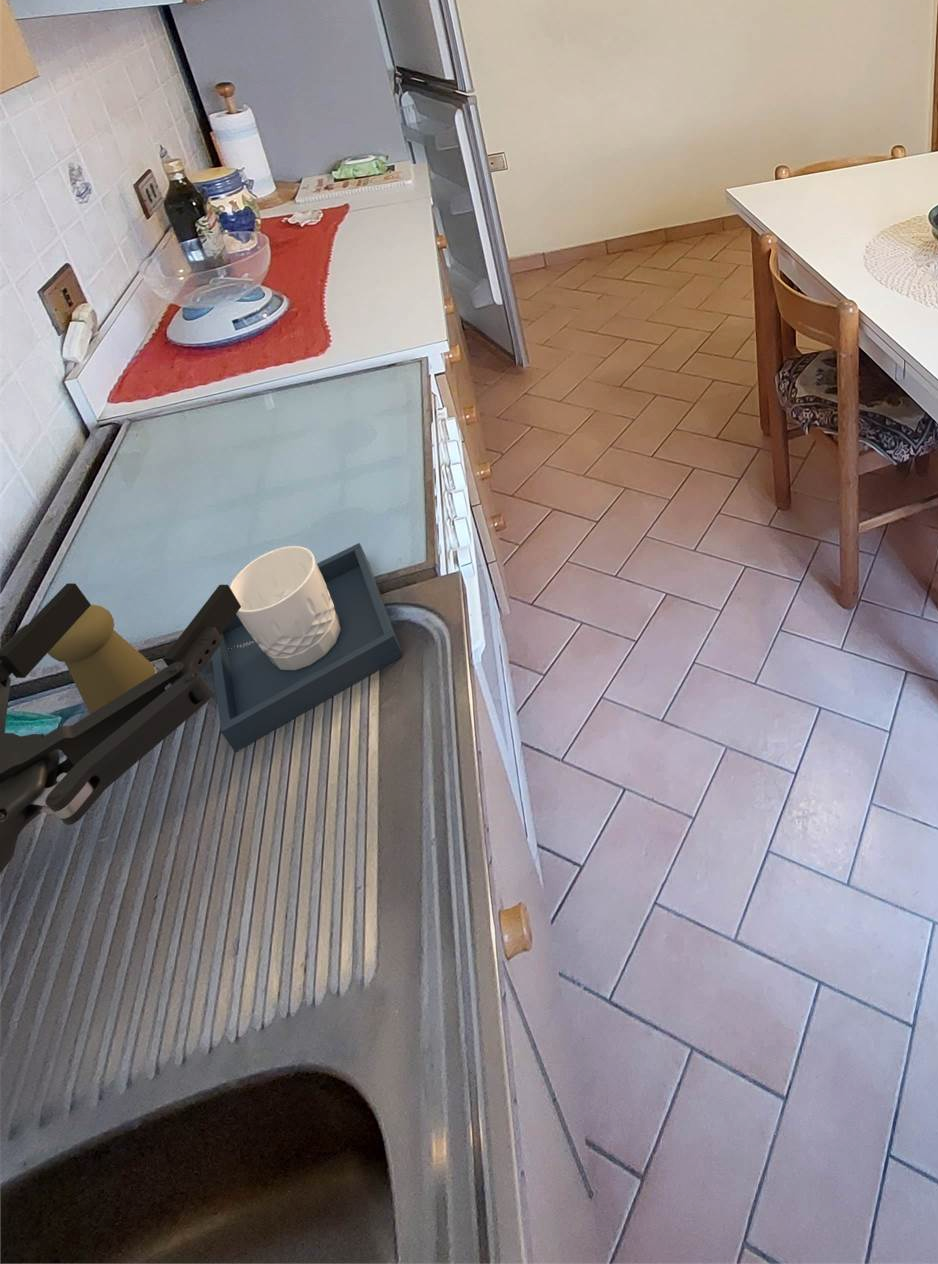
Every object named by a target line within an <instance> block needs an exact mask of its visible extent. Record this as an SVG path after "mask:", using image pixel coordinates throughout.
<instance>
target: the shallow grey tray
mask: <svg viewBox="0 0 938 1264" xmlns="http://www.w3.org/2000/svg"><path fill="white" fill-rule="evenodd" d="M317 565H318V567H319V569H320V572H321V574H322V576H323V579H324V581H325V583H326V586H327V589H328V591H329V594H330V597H331V599H332V601H333V604H334V609H335V611H336V614H337V616H338V618H339V622H340V628H341V631H340V634H339V636H338V639H337V641H336V643H335V645H334V646H333V647H332V648H331V649H330V650H329V651H328V653H327V654H326V655H325V656H323V657H322V658H320V659H319V660H318V661H316V662H315V663H313V664H312V665H310V666H307V667H304V668H301V669H298V670H294V671H293V670H280V669H279V668H278V667H277V666H275V665H274V664H273V663H272V662H271V660H270V659H269V657H268V656H267V655H266V653H265V652H263V650H262V649H261V648H260V647H259V645H258V644H257V642H256V644H255V640H254V639H253V637H252V636H251V635H250V634H249V632H248V631H247V629H246V628H245V627H244V625H243V624H242V622H241V621H240V619H239V618H238V616H237V615H235V616H234V617H233V619H232V620H231V622H230V623H229V624H228V626H227V627H226V629H225V630H224V631H223V633H222V634H221V637H222V641H221V645H220V646H219V647H218V649H217V650H216V651H215V653H214V654H213V656H212V657H211V661H212V671H213V677H214V686H215V695H216V704H217V711H218V720H219V727H220V733H221V734H222V735H223V737H224V738H225V740H226V741H227V743H228V744H229V746H230V747H231V748H232V750H233V752H234V753H236V752H238V751H240V750H242V749H244V748H246V747H247V746H248V744H249V745H251V744H253V743H254V742H256V741H257V740H259V739H261V738H263V737H264V736H266V735H269V734H270V733H272V732H273V731H275V730H277V729H279V728H280V727H282V726H284V725H285V724H288V723H289V722H290V721H293V720H294V719H296V718H298V717H300V716H301V715H303V714H305V713H307V712H308V711H310V710H311V709H312V710H313V708H315V707H317V706H318V705H320V704H322V703H324V702H325V701H328V700H329V699H331V698H332V697H335V696H336V695H338V694H340V693H342V692H343V691H345V690H347V689H349V688H350V687H353V685H355V684H357V683H359V682H361V681H362V680H364V679H366V678H367V677H370V676H371V675H373V674H374V673H376V672H378V671H380V670H381V669H384V668H385V667H387V666H389V665H390V664H392V663H394V662H395V661H397V660H399V659H401V658H402V657H404V653H403V650H402V647H401V645H400V643H399V640H398V637H397V634H396V631H395V629H394V626H393V624H392V621H391V618H390V616H389V613H388V610H387V608H385V607H386V605H385V603H384V602H385V601H384V599H383V597H382V595H381V594H382V593H381V591H380V588H379V585H378V583H377V581H376V579H375V575H374V572H373V570H372V567H371V564H370V562H369V559H368V557H367V555H366V553H365V551H364V549H363V547H362V545H361V543H360V542H358V543H356V544H354V545H352V546H350V547H348V548H346V549H343V550H342V551H340V552H337V553H336V554H334V555H332V556H329V557H327V558H325V559H324V560H322V561H320V562H318V563H317ZM249 641H251V642H252V641H254V644H253V645H252V643H251V645H250V646H249V645H248V646H247V648H246V646H245V648H243V647H241V648H240V647H239V646H240V644H241V645H242V646H243V643H246V642H248V643H249ZM237 645H239V646H238V648H237ZM234 646H235V647H234ZM228 648H229V649H228ZM231 648H232V649H231ZM241 748H242V749H241ZM239 749H240V750H239ZM237 750H238V751H237Z"/></svg>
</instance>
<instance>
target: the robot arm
mask: <svg viewBox="0 0 938 1264" xmlns="http://www.w3.org/2000/svg"><path fill="white" fill-rule="evenodd" d="M91 605H92V603H90V601H89V599H87V597H86V596H85V594H84V593H83V592H82V590H81V589H80V588H79V586H78V585H77V584H76V582H74V583H66V584H65V585H64V586H63V587H62V588H61V589H60V590H59V591H58V592H57V593H56V594H55V595H54V596H53V597H52V598H51V599H50V601H48V602H47V603H46V604H45V606H44V607H42V609H41V610H40V611H38V613H37V614H36V615H35V616H34V617H33V618H31V620H30V621H29V622H28V623H27V624H24V625H23V626H22V627H21V628H19V629H17V631H16V632H15V633H14V634H13V635H12V636H11V637H10V638H9V639H8V640H7V641H6V642H5V643H4V644H3V645H2V646H1V647H0V874H1V873H2V872H3V871H4V870H5V868H6V867H7V865H8V864H9V863H10V862H11V861H12V858H13V857H14V854H15V851H16V850H15V849H16V845H17V842H18V839H19V836H20V834H21V832H22V831H23V830H24V828H25V827H27V825H28V824H29V823H30V822H32V820H34V819H35V818H36V817H38V816H39V815H40V814H41V813H43V814H48V815H49V814H50V815H54V816H57V817H58V819H60V820H61V821H62V823H64V824H65V825H66V826H72V825H73V824H76V823H77V822H78V821H80V820H81V819H82V818H83V817H84V816H85V815H86V813H87V812H88V811H89V810H90V809H91V807H92V806H93V805H94V804H95V803H96V801H97V800H98V798H100V796H102V794H103V793H104V792H105V790H106V789H107V788H109V787H110V786H111V785H113V783H114V782H116V781H117V780H118V779H120V777H121V776H123V775H124V774H126V772H127V771H128V770H130V769H131V768H132V767H133V766H134V765H135V764H137V763H138V762H139V761H140V760H141V759H143V758H144V757H145V756H146V755H147V754H149V753H150V752H151V751H152V750H153V749H154V748H156V747H157V746H158V745H159V744H160V743H161V742H162V741H164V740H165V739H166V738H167V737H169V735H171V734H172V733H173V732H174V731H175V730H176V729H178V728H179V727H180V726H181V725H183V724H184V723H185V722H186V721H187V720H188V719H189V718H190V717H193V715H194V714H195V713H196V712H197V711H199V710H200V709H201V708H202V707H203V706H205V705H206V704H207V703H208V702H210V700H211V699H212V697H213V694H214V692H213V691H212V689H211V687H210V686H209V685H208V682H207V681H206V680H205V678H204V677H203V675H202V674H201V673H202V672H203V670H204V668H205V667H206V666H207V664H208V663H209V662H210V660H212V656H213V654H214V653H215V651H216V650H217V649H218V647H219V646H220V645H221V641H222V637H221V634H222V633H223V631H224V630H225V629H226V627H227V626H228V624H229V623H230V622H231V620H232V619H233V617H234V616H235V615H236V613H237V612H238V610H239V609H240V608H241V605H240V604H239V602H238V600H237V599H236V597H235V595H234V594H233V592H232V590H231V589H230V584H219V585H218V586H217V587H216V588H215V590H213V592H212V594H211V595H210V596H209V598H208V599H207V600H206V601H205V603H204V604H203V606H202V607H201V608H200V609H199V611H198V612H197V613H196V615H195V616H194V617H193V618H192V620H191V621H190V622H189V624H188V625H187V626H186V628H185V629H184V630H183V631H182V633H181V634H180V636H179V637H178V638H177V639H176V641H175V642H174V643H173V644H172V645H171V647H170V648H169V650H168V651H167V652H166V653H165V655H164V656H163V657H162V660H163V662H164V663H165V664H166V667H164V668H162V669H161V670H158V672H157V673H156V674H154V675H153V676H151V677H149V678H148V679H146V680H145V681H143V682H141V683H140V684H138V685H136V686H135V687H133V688H132V689H130V690H128V691H127V692H125V693H124V694H122V695H120V696H119V697H117V698H115V699H114V700H112V701H111V702H109V703H107V704H106V705H104V706H103V707H101V708H99V709H98V710H96V711H94V712H93V713H91V714H90V713H89V714H88V715H86V716H85V717H83V718H82V719H80V720H78V721H76V722H75V723H74V724H71V725H61V726H58V727H56V728H54V729H53V730H51V731H50V732H48V733H46V734H44V733H31V734H26V735H18V734H16V733H14V732H6V723H7V715H8V706H9V698H10V689H11V681H12V679H11V678H10V676H11V675H13V676H14V677H15V678H17V679H26V678H27V676H28V675H29V674H30V673H31V672H32V671H33V670H34V668H36V666H37V665H38V664H39V663H40V662H41V661H42V660H43V659H44V658H45V656H47V655H48V652H49V651H50V650H51V649H52V648H53V646H54V645H55V644H56V643H57V642H58V641H59V640H60V639H61V638H62V637H63V635H64V634H65V633H66V632H67V631H68V630H69V629H70V628H71V627H72V626H73V624H74V623H75V622H76V621H77V620H78V619H79V618H80V617H81V616H82V615H83V613H84V612H85V611H86V610H87V609H88V608H89V607H90V606H91ZM169 684H170V686H168V685H169ZM167 686H168V688H167V689H166V687H167ZM60 752H61V753H62V754H63V755H64V756H65V757H66V758H67V759H65V760H64V761H61V762H60V757H61V756H60Z"/></svg>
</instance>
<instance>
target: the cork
mask: <svg viewBox="0 0 938 1264" xmlns="http://www.w3.org/2000/svg"><path fill="white" fill-rule="evenodd" d="M114 628H115V621H114V618H113V615H112V614H111V612H110V610H108V609H107V608H105V607H103V606H102V605H97V604H91V606H90V607H89V608H88V609H87V610H86V611H85V612H84V613H83V615H82V616H81V617H80V618H79V619H78V620H77V621H76V622H75V623H74V624H73V626H72V627H71V628H70V629H69V630H68V631H67V632H66V633H65V634H64V635H63V637H62V638H61V639H60V640H59V641H58V642H57V643H56V644H55V645H54V646H53V648H52V649H51V650H50V651H49V652H48V653H47V655H48V656H50V658H52V659H53V660H56V661H58V662H59V663H65V665H66V667H67V670H68V672H69V674H70V676H71V679H72V680H73V682H74V685H75V686H76V689H77V691H78V692H79V695H80V697H81V699H82V701H83V703H84V705H85V707H86V709H87V711H88V714H89V715H90V714H91V713H93V712H94V711H96V710H98V709H99V708H101V707H103V706H104V705H106V704H107V703H109V702H111V701H112V700H114V699H115V698H117V697H119V696H120V695H122V694H124V693H125V692H127V691H128V690H130V689H132V688H133V687H135V686H136V685H138V684H140V683H141V682H143V681H145V680H146V679H148V678H149V677H151V676H153V675H154V674H155V669H154V666H155V665H154V664H153V663H152V662H151V661H150V660H148V659H147V658H146V657H145V656H144V655H143V654H142V653H140V651H138V650H137V649H136V648H135V647H134V646H133V645H132V644H131V643H129V641H127V639H125V638H124V637H122V635H120V634H119V633H118V632H117V631H116V630H115V629H114ZM153 665H154V666H153Z"/></svg>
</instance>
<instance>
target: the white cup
mask: <svg viewBox="0 0 938 1264" xmlns="http://www.w3.org/2000/svg"><path fill="white" fill-rule="evenodd" d="M229 587H230V589H231V590H232V592H233V594H234V595H235V597H236V599H237V600H238V602H239V604H240V605H241V608H240V609H239V610H238V612H237V613H236V615H237V616H238V618H239V619H240V621H241V622H242V624H243V625H244V627H245V628H246V629H247V631H248V632H249V634H250V635H251V636H252V637H253V639H254V640H255V641H256V642H257V644H258V645H259V647H260V648H261V649H262V650H263V652H265V653H266V655H267V656H268V657H269V659H270V660H271V662H272V663H273V664H274V665H275V666H277V667H278V668H279V669H280V670H293V671H294V670H298V669H301V668H304V667H307V666H310V665H312V664H313V663H315V662H316V661H318V660H319V659H320V658H322V657H323V656H325V655H326V654H327V653H328V651H329V650H330V649H331V648H332V647H333V646H334V645H335V643H336V641H337V639H338V636H339V634H340V631H341V628H340V622H339V618H338V616H337V614H336V611H335V609H334V604H333V601H332V599H331V597H330V594H329V591H328V589H327V586H326V583H325V581H324V579H323V576H322V574H321V572H320V569H319V567H318V565H317V560H316V558H315V555H314V553H313V552H312V551H311V550H310V549H309V548H307V547H303V546H298V545H290V546H289V545H288V546H283V547H279V548H276V549H273V550H271V551H268V552H266V553H263V554H262V555H259V556H258V557H257V558H254V559H253V560H252V561H251V562H249V563H248V564H247V565H245V567H243V568H242V569H241V570H240V571H239V572H238V573H237V574H236V575H235V577H234V578H233V579H232V581H231V583H230V584H229Z"/></svg>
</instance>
